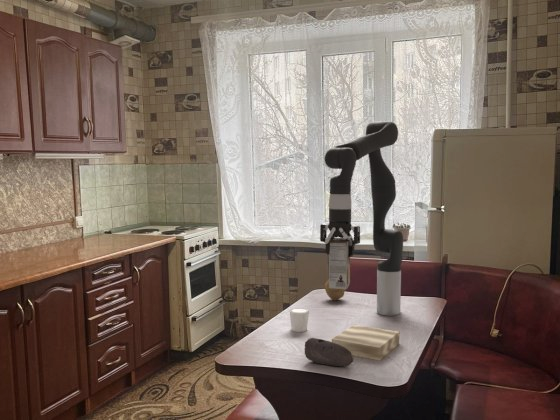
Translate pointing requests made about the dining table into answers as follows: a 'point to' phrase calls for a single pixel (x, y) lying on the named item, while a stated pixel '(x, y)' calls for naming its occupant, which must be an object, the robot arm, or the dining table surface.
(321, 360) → the perforated stone tool
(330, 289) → the natural sponge
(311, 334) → the dining table surface
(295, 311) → the white faceted cup
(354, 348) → the birch plinth
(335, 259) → the coffee box
